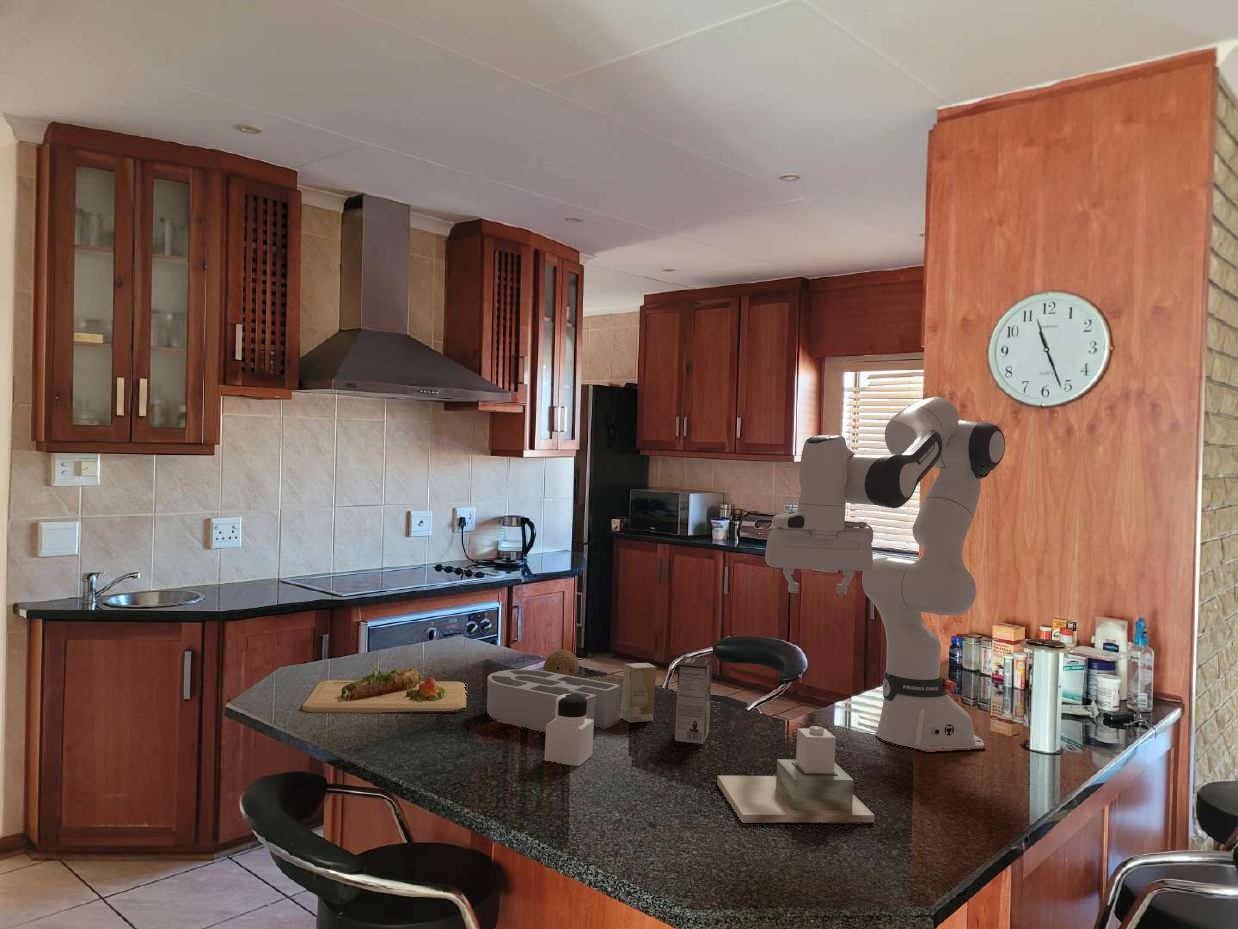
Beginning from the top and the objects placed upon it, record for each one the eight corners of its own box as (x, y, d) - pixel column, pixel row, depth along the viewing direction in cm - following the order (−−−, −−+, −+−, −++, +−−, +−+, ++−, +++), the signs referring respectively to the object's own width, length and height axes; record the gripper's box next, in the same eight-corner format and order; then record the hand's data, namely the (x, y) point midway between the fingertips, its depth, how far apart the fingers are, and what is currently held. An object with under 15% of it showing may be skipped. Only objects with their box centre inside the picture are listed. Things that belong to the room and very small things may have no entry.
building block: (823, 763, 156) (825, 724, 156) (834, 773, 151) (836, 732, 151) (795, 763, 156) (797, 723, 156) (805, 773, 151) (807, 732, 151)
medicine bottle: (592, 756, 175) (595, 694, 175) (579, 767, 168) (582, 702, 168) (558, 750, 177) (561, 689, 177) (543, 761, 170) (546, 697, 170)
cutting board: (467, 689, 223) (468, 658, 223) (465, 716, 200) (467, 682, 200) (319, 688, 218) (321, 656, 218) (300, 715, 194) (302, 680, 194)
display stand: (835, 784, 165) (836, 748, 165) (874, 824, 147) (876, 783, 147) (717, 784, 163) (719, 746, 163) (742, 824, 145) (744, 782, 145)
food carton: (679, 729, 196) (683, 655, 196) (709, 732, 194) (713, 657, 194) (673, 741, 187) (677, 663, 187) (704, 744, 185) (708, 666, 185)
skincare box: (629, 723, 198) (632, 667, 198) (620, 718, 202) (622, 663, 202) (654, 721, 201) (657, 666, 201) (645, 715, 205) (647, 662, 205)
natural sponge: (576, 695, 220) (578, 654, 220) (540, 693, 220) (542, 652, 220) (578, 686, 229) (580, 646, 229) (543, 684, 229) (545, 645, 229)
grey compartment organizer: (579, 743, 183) (581, 701, 183) (470, 718, 197) (472, 679, 197) (619, 724, 198) (621, 685, 198) (515, 702, 211) (516, 666, 211)
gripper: (867, 521, 175) (863, 592, 175) (764, 516, 173) (761, 589, 173) (880, 523, 169) (876, 597, 169) (773, 518, 166) (770, 593, 166)
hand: (817, 593), depth 171 cm, fingers open, 8 cm apart
